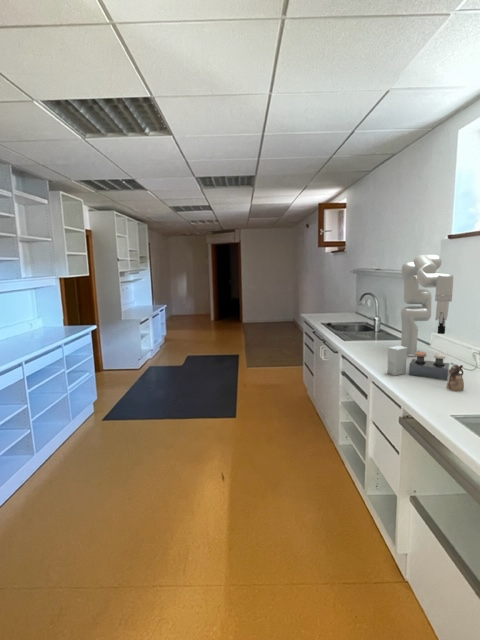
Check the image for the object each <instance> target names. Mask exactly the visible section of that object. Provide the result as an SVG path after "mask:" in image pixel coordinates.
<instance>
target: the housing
mask: <svg viewBox="0 0 480 640" xmlns="http://www.w3.org/2000/svg"><path fill="white" fill-rule="evenodd" d="M408 365H409V366H408V368H409V369H408V375H409V376H414V377H422V378H429V379H436V380H443V381H448V380H449V376H450V375H449V370H450V363H449V362H443V367H442V366H435V360H433V361H432V360H427V359H426V360H425V359H424V364H418V363H417V358H416V359H415V358H413V359H412V360H411V361H410V362H409V364H408Z"/></svg>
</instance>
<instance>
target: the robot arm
mask: <svg viewBox="0 0 480 640" xmlns="http://www.w3.org/2000/svg"><path fill="white" fill-rule="evenodd" d="M441 265H442V259H441V256H440V255H438V254H419V255H417V256H415V258H414V259H413V261H407V262H405V263H403V264H402V265H401V271H400V272H401V278H402V280H403V301H404V303H405V304H407V305H408V306H405V307H403V308H401V311H400V316H401V317H400V318H401V337H400V338H401V341H400V346H403V347H406V348H407V357H417V356H416V352H418V337H419V336H418V334H419V333H418V331H419V327H418V325H417V324H416V322H428V321H430V319H431V317H432V293H431V291H430V290H429V289H427V288H435V299H434V301H435V302H436V309H435V321H438V325H437V334H439V335H440V334H441V335H445V333H446V320H447V319H448V316H449V315H448V314H449V308H450V307H449V306H450V305H449V304H450V302H452V301H453V291H454V290H453V288H454V275H453V274H450V273H446V272H445V273H444V272H440V273H438V272H437V270H438V269H440V267H441ZM436 272H437V273H436ZM419 286H421V287H423V288H420V287H419ZM425 288H426V289H425ZM409 305H411V306H409ZM412 305H413V306H412ZM418 305H421V306H418Z"/></svg>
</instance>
